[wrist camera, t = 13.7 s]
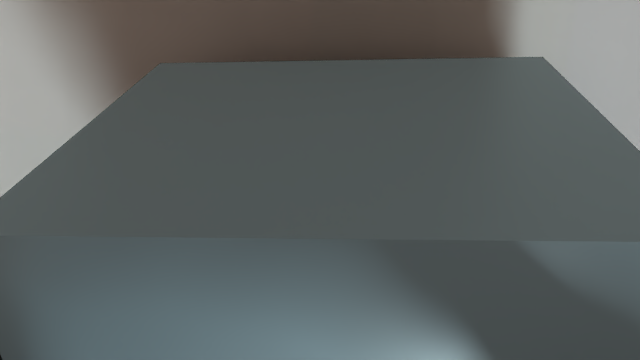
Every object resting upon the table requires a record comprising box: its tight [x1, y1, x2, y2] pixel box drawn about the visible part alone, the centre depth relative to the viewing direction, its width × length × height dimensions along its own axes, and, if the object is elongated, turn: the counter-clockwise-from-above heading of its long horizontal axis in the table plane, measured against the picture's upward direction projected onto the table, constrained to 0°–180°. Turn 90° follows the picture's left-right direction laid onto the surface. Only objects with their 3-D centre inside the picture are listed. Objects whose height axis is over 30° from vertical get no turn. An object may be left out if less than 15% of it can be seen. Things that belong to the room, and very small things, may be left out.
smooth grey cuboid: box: [0, 57, 640, 360], centre depth 14 cm, size 10×10×9 cm
